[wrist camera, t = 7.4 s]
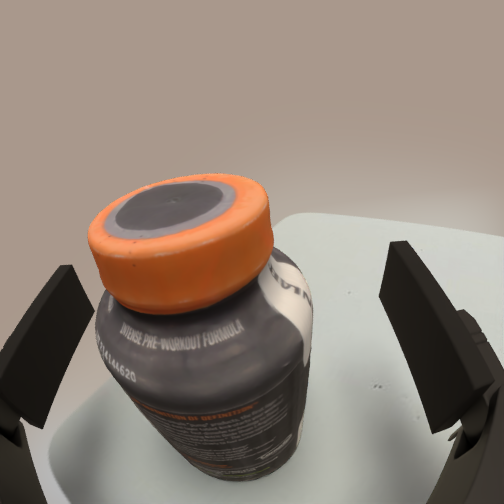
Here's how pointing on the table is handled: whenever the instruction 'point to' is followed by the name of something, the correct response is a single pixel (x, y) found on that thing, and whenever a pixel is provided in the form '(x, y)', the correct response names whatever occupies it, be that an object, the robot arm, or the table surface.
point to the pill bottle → (205, 321)
